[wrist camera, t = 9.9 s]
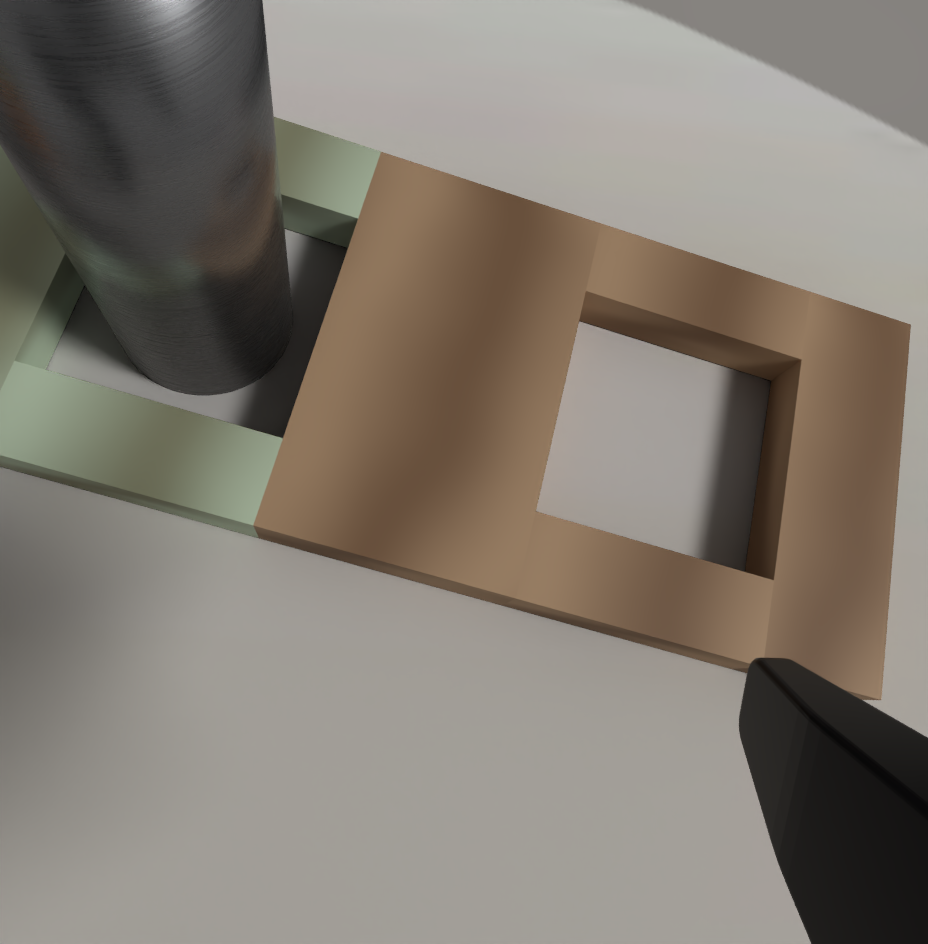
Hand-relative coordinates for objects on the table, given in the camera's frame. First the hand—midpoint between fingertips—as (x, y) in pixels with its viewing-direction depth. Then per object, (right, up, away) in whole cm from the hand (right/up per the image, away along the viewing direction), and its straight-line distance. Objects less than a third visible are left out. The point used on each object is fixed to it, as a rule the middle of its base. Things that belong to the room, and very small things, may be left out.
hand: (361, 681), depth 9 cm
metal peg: (-6, +7, +12) cm, 15 cm away
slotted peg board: (0, +5, +13) cm, 14 cm away
